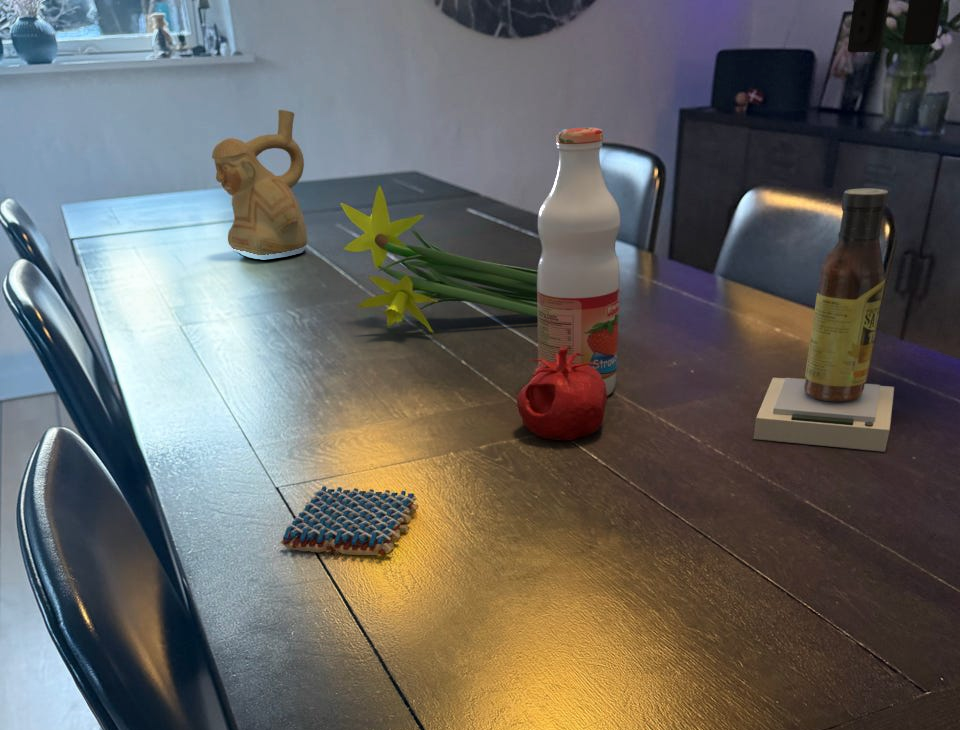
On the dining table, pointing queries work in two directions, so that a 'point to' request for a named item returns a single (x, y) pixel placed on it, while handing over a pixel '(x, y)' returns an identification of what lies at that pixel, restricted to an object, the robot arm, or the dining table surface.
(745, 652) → the dining table surface
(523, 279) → the daffodil flowers
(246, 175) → the ceramic vessel
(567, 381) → the pomegranate
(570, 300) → the fruit juice
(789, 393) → the scale
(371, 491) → the woven mat
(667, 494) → the dining table surface
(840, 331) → the sauce bottle
